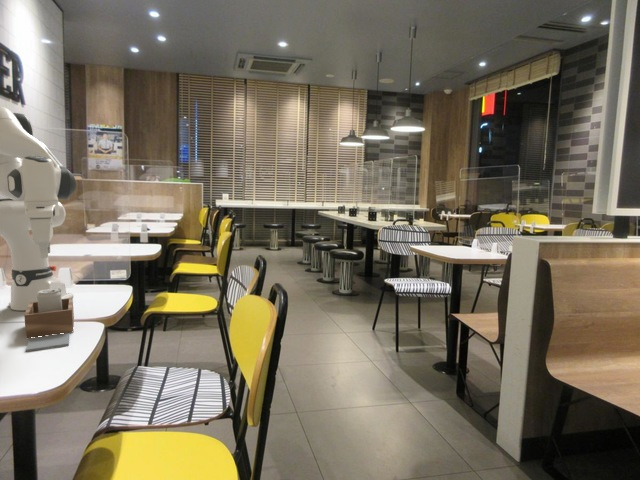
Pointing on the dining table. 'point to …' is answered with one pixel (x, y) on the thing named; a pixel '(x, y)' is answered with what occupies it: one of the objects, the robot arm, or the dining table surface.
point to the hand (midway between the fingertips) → (45, 255)
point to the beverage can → (49, 300)
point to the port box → (49, 320)
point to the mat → (48, 342)
